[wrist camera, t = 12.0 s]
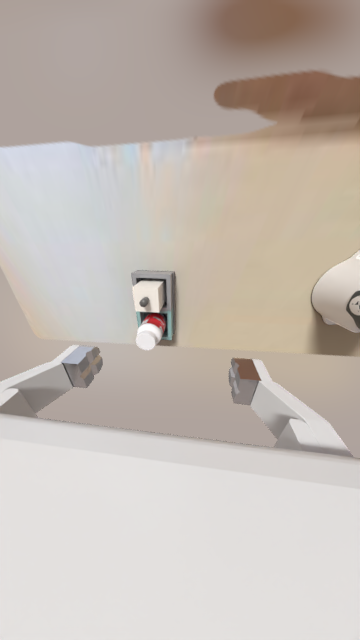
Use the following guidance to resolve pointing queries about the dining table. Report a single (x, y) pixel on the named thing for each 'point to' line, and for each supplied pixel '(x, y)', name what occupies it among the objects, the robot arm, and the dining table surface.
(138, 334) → the pill bottle
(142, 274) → the teal tray with block
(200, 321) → the dining table surface
